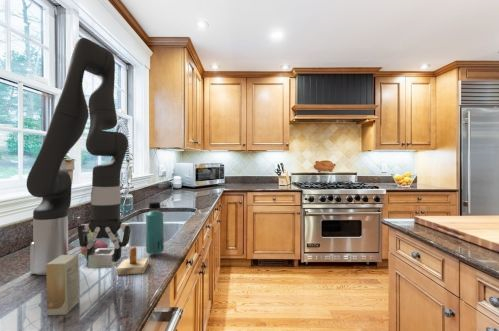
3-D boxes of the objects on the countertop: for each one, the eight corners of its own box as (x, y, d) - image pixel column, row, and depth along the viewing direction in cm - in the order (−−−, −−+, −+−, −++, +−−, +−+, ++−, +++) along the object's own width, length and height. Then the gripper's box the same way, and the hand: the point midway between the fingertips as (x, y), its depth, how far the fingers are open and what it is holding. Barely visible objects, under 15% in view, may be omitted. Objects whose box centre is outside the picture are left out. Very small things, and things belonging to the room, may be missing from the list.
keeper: (116, 274, 88) (116, 252, 88) (123, 265, 96) (123, 244, 96) (143, 273, 89) (143, 251, 89) (147, 263, 97) (147, 243, 97)
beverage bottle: (158, 258, 102) (158, 203, 102) (141, 257, 104) (141, 203, 103) (167, 252, 109) (167, 201, 108) (151, 251, 110) (151, 200, 110)
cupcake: (93, 267, 94) (92, 231, 94) (74, 263, 97) (74, 229, 97) (113, 258, 102) (113, 225, 102) (96, 255, 105) (95, 223, 105)
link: (88, 268, 76) (88, 255, 76) (97, 260, 82) (97, 248, 82) (111, 267, 77) (111, 255, 77) (118, 260, 83) (119, 248, 83)
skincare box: (61, 302, 71) (61, 254, 71) (79, 301, 71) (79, 253, 71) (45, 316, 65) (45, 263, 64) (65, 315, 65) (65, 263, 65)
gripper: (72, 203, 75) (70, 266, 75) (128, 204, 77) (127, 265, 77) (84, 199, 82) (83, 256, 83) (136, 200, 84) (134, 256, 84)
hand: (104, 260), depth 80 cm, fingers closed on link, 6 cm apart
